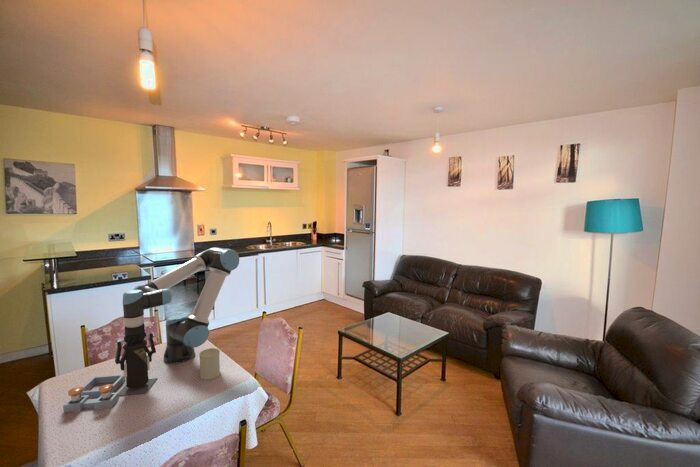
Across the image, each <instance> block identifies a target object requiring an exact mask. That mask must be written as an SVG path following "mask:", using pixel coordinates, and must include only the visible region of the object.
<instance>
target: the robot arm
mask: <svg viewBox="0 0 700 467" xmlns="http://www.w3.org/2000/svg"><path fill="white" fill-rule="evenodd" d="M239 264H240V256H239V253H238V252H237V251H236V250H234V249H231V248H228V247H227V248H226V247H225V248H224V247H218V246H214V247H209V248H208V249H205V250H203V251H200V253H197V254H195V255H194V256H193V258H192V259H190V260H188V261H186V262H184V263H182V264H181V265H179V266H178V267H175V268H173V269H172V270H170V271H168V272H167V273H164V274H163V275H160V276H159V277H158V278H157V277H156V278H155V279H154V280H151V281H150V282H148V283H146V284H139V285H137V286H135V287H134V288H133V289H132V290H131V289H130V290H126V291H125V292H123V294H122V308H123V309H122V310H123V311H122V312H123V325H124V327H123V328H124V336H123V339H118V340H116V342H115V343H116V351H115V359H114V362H115V364H116V365H120V370H121V372H122V371H123V374H124V377H125V379H126V377H127V364H126V358H127V354H126V351H125V350H124V349H123V346H124V343H125V344H126V343H127V344H128V345H129V346H130V345H132V344H133V343H137V342H143V340H145V338H147V339H148V341H149V346H150V349H149V347H148V346H147V345H146V355H147V367H148V371H150V370H151V369H150V368H151V366H150V363H152V362H153V361H152V359H153V358H152V357H153V355H154V354H156V353H157V350H156V347H155V341H154V338H153V337H154V336H153V335H154V333H153V332H151V331H149V332H146V329H145V310H148V309H153V308H157V307H161V306H165V305H168V304H170V303H171V302H172V300H173V298H172V296H173V295H172V292H171V290H170V288H172V287H173V286H176V285H177V284H179V283H181V282H182V281H184V280H186V279H188V278H189V277H191V276H192V275H194V274H196V273H198V272H199V271H205V270H207V269H209V271H210V272H209V274H208V277H207V279H206V281H205V283H204V286H203V288H202V290H201V292H200V295H199V296H198V298H197V301H196V304H195V306H194V308H193V310H192V312H191V314H187V313H182V314H181V313H180V314H176V315H173V316H170V317H168V318H167V319H166V320H165V335H166V336H165V338H166V347H165V350H164V353H163V361H164V362H165V363H166V364H179V363H183V362H185V361H188V360H191V359H192V358H193V357H194V356H195V354H196V353H195V352H196V350H195V348H199V347H201V346H202V345H204V344H205V343H206V342H207V340H208V339H209V337H210V331H209V328H208V327H209V325H210V321H209V317H210V315H211V313H212V310H213V308H214V306H215V303H216V301H217V298H218V296H219V294H220V293H221V289H222V287H223V285H224V283H225V280H226V278H227V277H228V276H230V275H231V273H232V271H234V270H236V269H237V268H238V267H239ZM122 349H123V353H121V352H122Z"/></svg>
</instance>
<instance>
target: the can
mask: <svg viewBox="0 0 700 467" xmlns="http://www.w3.org/2000/svg"><path fill="white" fill-rule="evenodd" d="M220 353H221V351H220V350H219V348H212V347H211V348H206V349H203V350H202V351H200V353H199V367H200V368H199V373H200V374H199V377H200V379H202V380H204V381H205V380H212V379H215V378H217V377H218V376H220V374H221V371H220V370H221V369H220V367H221V366H220Z"/></svg>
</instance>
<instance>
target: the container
mask: <svg viewBox="0 0 700 467" xmlns="http://www.w3.org/2000/svg"><path fill="white" fill-rule="evenodd" d="M147 345H148V341H147V340H146V339H144V340H143V342H137V343H133V344H132V345H130V346H129V345H128V344H127V343H126V342H125V344H123V345H122V349H123V351H124V350H125V351H126V354H127V358H126V360H125V362H126V364H127V377H126V378H125V385H126V386H127V387H128V388H137V387H140V386H143V385H145V384H146V383H147V382H148V379H149V370H148V367H147V352H146V346H147Z"/></svg>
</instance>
